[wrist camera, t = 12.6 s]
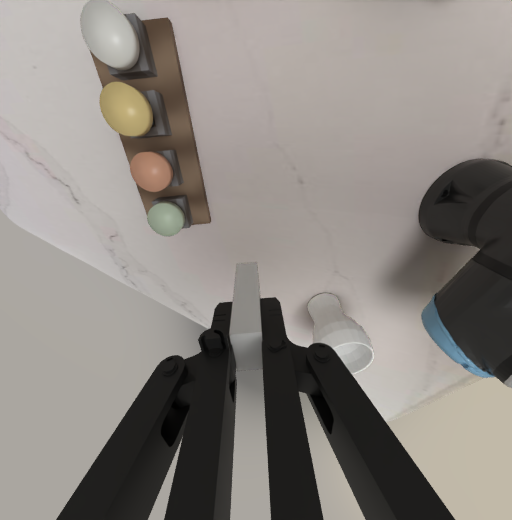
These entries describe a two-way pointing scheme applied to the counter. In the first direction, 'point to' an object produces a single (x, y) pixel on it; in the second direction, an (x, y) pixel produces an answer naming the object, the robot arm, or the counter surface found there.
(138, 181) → the terracotta button
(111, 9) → the grey button
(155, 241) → the counter surface
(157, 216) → the sage button
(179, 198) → the panel
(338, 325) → the cup
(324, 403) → the robot arm
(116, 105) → the ochre button
